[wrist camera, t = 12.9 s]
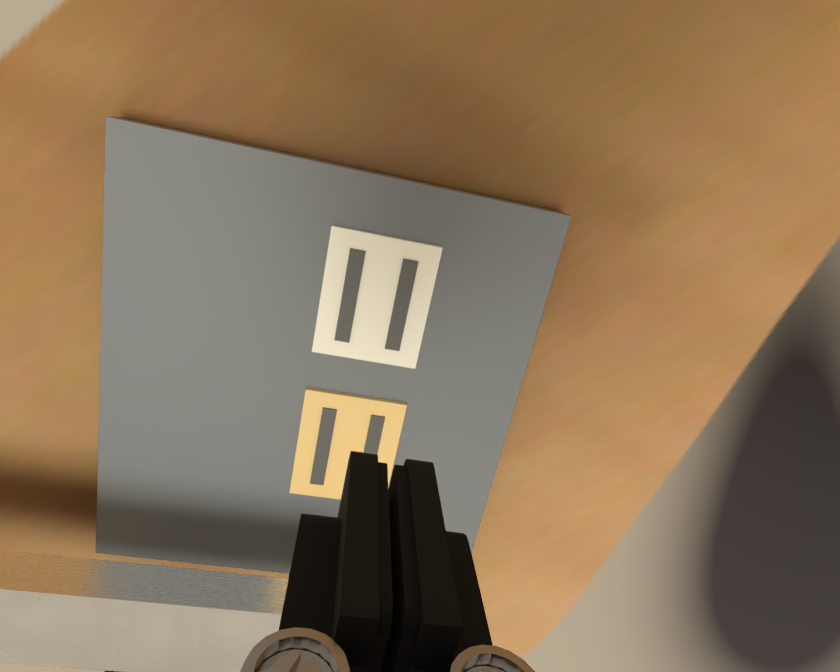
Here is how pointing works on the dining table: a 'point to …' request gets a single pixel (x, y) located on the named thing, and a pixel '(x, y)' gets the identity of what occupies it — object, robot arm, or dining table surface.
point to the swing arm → (131, 615)
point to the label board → (297, 340)
